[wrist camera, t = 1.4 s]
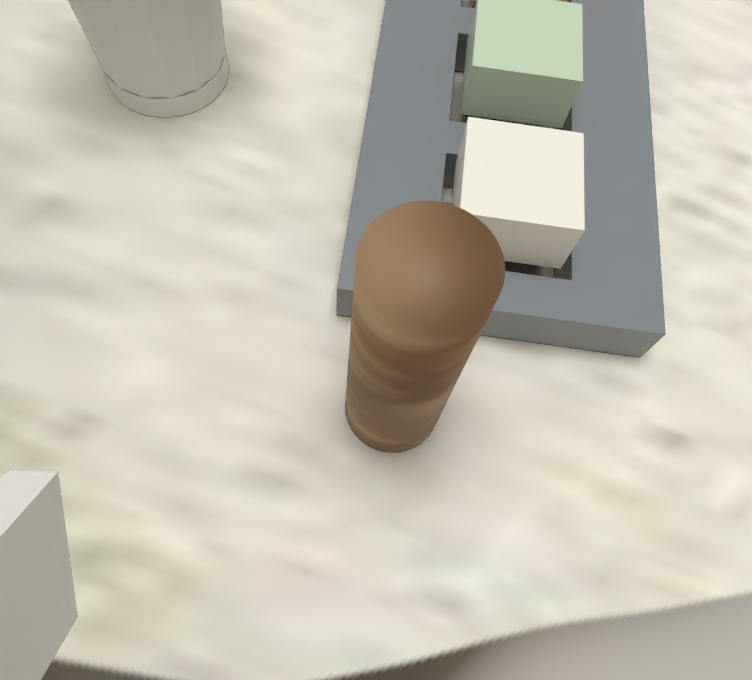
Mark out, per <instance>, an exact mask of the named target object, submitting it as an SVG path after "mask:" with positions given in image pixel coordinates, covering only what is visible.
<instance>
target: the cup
mask: <svg viewBox="0 0 752 680" xmlns="http://www.w3.org/2000/svg"><path fill="white" fill-rule="evenodd" d="M68 1H69V3H70V5H71V7H72V9H73V11H74V13H75V15H76V17H77V19H78V21H79V23H80V25H81V27H82V29H83V31H84V33H85V35H86V37H87V39H88V41H89V43H90V45H91V47H92V49H93V51H94V53H95V55H96V57H97V59H98V61H99V63H100V65H101V67H102V69H103V71H104V73H105V76H106V78H107V81H108V83H109V86H110V88H111V91H112V92H113V94H114V96H115V97H116V98H117V99H118V100H119V101H120V102H121V103H122V104H123V105H125V106H126V107H128V108H129V109H131V110H133V111H135V112H138V113H140V114H144V115H147V116H153V117H177V116H182V115H187V114H190V113H193V112H195V111H198V110H200V109H202V108H204V107H205V106H207V105H209V104H210V103H211V102H212V101H214V100H215V99H216V98H217V97H218V96H219V95H220V93H221V92H222V91H223V89H224V87H225V85H226V83H227V80H228V75H229V67H228V61H227V55H226V50H225V44H224V32H223V20H222V8H221V0H68Z"/></svg>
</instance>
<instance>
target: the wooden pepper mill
mask: <svg viewBox="0 0 752 680" xmlns="http://www.w3.org/2000/svg"><path fill="white" fill-rule="evenodd" d="M504 280H505V261H504V256H503V253H502V250H501V247H500V245H499V243H498V241H497V239H496V238H495V236H494V235H493V233H492V232H491V231H490V230H489V228H488V227H487V226H486V225H485V224H484V223H483V222H482V221H480V220H479V219H478V218H477V217H475V216H474V215H472V214H471V213H469V212H467V211H465V210H464V209H461V208H459V207H457V206H454V205H451V204H447V203H443V202H438V201H413V202H407V203H403V204H400V205H397V206H395V207H392V208H390V209H388V210H386V211H384V212H383V213H382V214H380V215H379V216H377V217H376V218H375V219H374V220H373V221H372V222H371V223H370V224H369V226H368V227H367V228H366V229H365V231H364V233H363V234H362V236H361V239H360V241H359V243H358V247H357V251H356V263H355V277H354V291H353V305H352V319H351V333H350V347H349V361H348V376H347V390H346V404H345V409H346V416H347V420H348V423H349V425H350V427H351V429H352V430H353V432H354V433H355V435H356V436H357V437H358V438H359V439H360V440H361V441H362V442H364V443H365V444H367V445H368V446H370V447H372V448H374V449H377V450H380V451H384V452H402V451H406V450H409V449H412V448H414V447H416V446H418V445H419V444H421V443H422V442H423V441H424V440H425V439H426V438H427V437H428V436H429V435H430V433H431V432H432V430H433V428H434V426H435V424H436V422H437V420H438V418H439V416H440V414H441V412H442V410H443V408H444V406H445V404H446V402H447V400H448V398H449V396H450V394H451V392H452V390H453V388H454V386H455V384H456V382H457V380H458V378H459V376H460V374H461V372H462V370H463V368H464V366H465V364H466V362H467V360H468V358H469V356H470V354H471V352H472V350H473V348H474V346H475V344H476V341H477V339H478V337H479V335H480V333H481V331H482V329H483V327H484V325H485V323H486V321H487V319H488V317H489V315H490V313H491V311H492V309H493V307H494V305H495V303H496V301H497V299H498V297H499V295H500V293H501V291H502V288H503V284H504Z"/></svg>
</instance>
